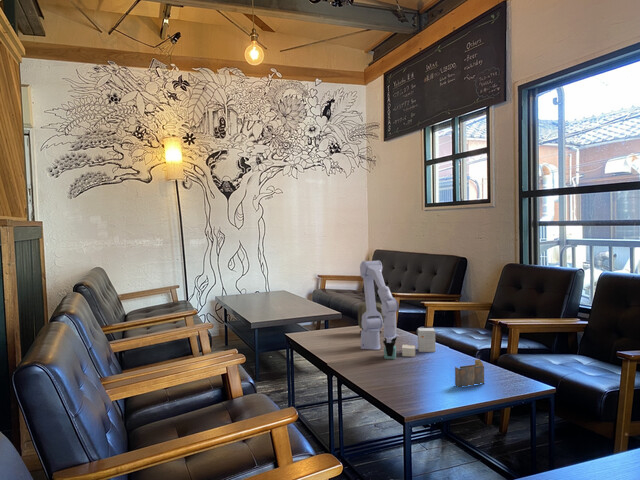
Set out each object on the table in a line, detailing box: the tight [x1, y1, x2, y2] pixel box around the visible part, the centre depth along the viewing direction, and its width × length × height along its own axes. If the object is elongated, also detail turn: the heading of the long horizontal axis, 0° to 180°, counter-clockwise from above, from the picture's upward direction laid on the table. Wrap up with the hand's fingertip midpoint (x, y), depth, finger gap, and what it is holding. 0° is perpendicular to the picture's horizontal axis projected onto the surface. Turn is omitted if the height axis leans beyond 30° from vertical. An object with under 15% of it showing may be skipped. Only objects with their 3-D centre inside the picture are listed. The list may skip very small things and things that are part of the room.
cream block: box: [401, 344, 416, 357], centre depth 217 cm, size 6×6×4 cm
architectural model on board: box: [454, 358, 485, 388], centre depth 175 cm, size 11×3×10 cm, turn 108°
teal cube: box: [383, 345, 397, 360], centre depth 213 cm, size 5×5×5 cm
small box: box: [417, 327, 437, 353], centre depth 224 cm, size 8×6×10 cm
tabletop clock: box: [357, 291, 384, 334], centre depth 257 cm, size 14×9×25 cm, turn 85°
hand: (390, 354), depth 213 cm, fingers closed on teal cube, 5 cm apart
